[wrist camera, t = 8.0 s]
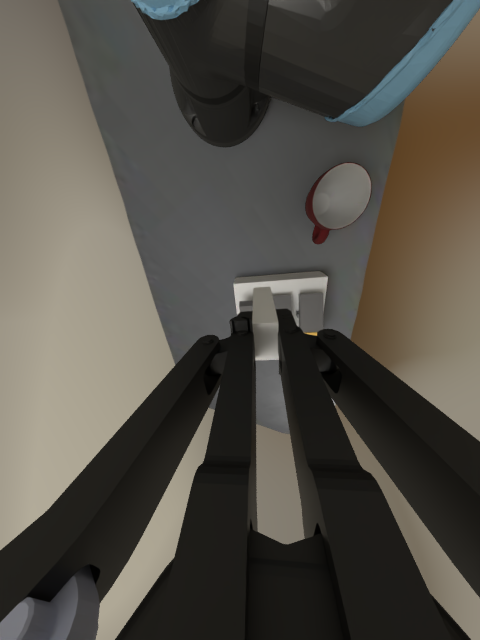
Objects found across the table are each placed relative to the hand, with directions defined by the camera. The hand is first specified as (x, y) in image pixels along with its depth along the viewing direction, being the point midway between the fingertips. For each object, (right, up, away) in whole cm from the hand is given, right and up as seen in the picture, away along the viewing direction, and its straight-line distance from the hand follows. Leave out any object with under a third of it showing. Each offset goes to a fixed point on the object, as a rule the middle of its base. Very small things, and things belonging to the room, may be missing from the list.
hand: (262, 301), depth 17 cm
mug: (+13, +19, +19) cm, 30 cm away
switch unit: (+7, +2, +28) cm, 29 cm away
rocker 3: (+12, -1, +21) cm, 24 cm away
